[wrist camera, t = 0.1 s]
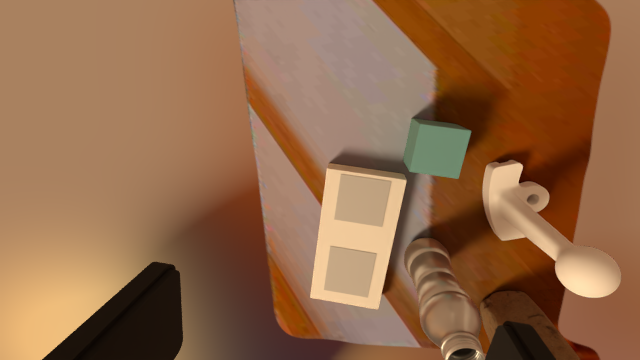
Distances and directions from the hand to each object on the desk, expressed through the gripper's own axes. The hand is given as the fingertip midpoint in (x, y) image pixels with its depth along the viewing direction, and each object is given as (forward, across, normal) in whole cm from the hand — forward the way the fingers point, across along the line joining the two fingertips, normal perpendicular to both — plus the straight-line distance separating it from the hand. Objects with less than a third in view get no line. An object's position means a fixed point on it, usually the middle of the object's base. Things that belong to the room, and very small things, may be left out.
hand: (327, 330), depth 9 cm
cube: (+37, -11, 0) cm, 38 cm away
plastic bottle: (+37, -14, +17) cm, 43 cm away
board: (+37, -3, +16) cm, 40 cm away
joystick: (+37, -24, +6) cm, 44 cm away
